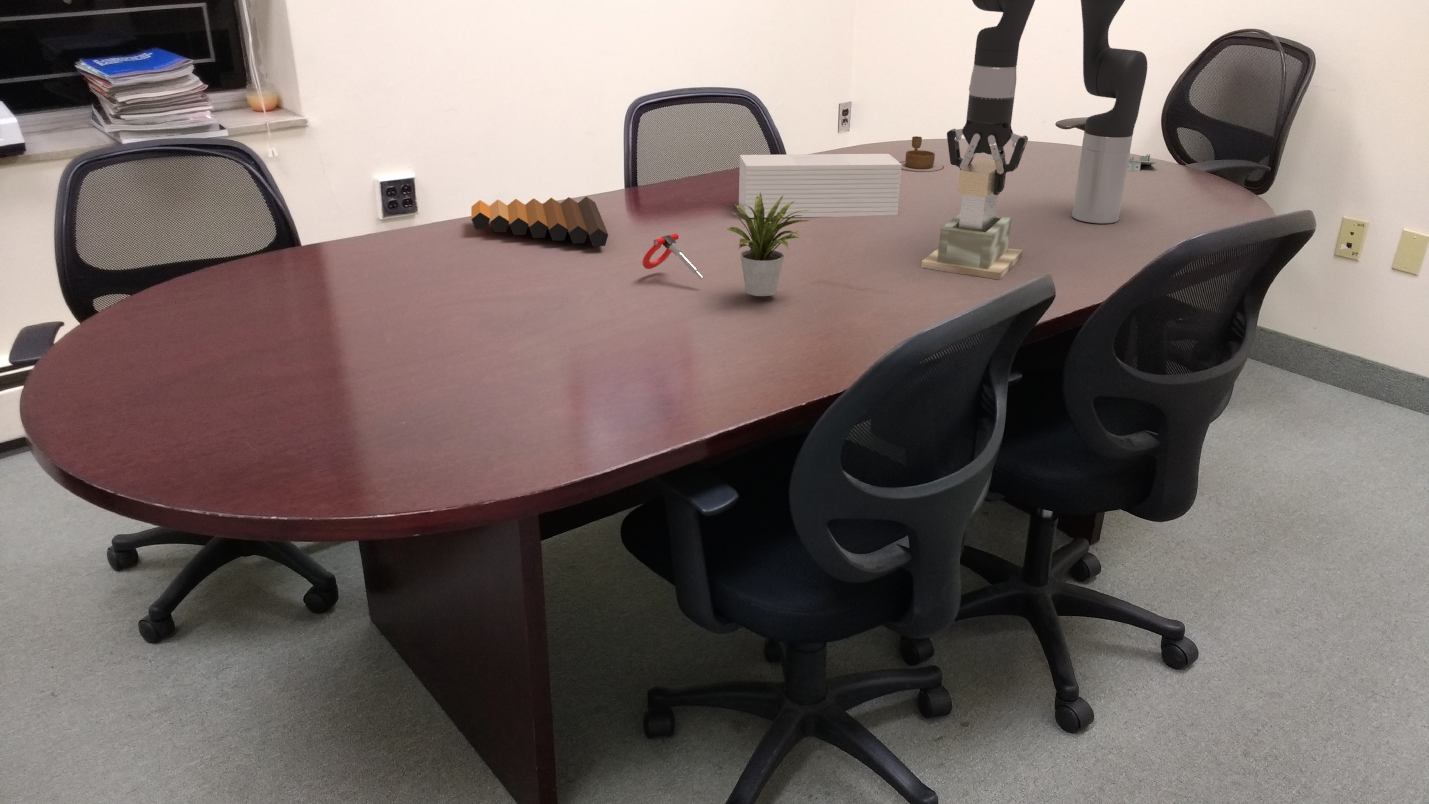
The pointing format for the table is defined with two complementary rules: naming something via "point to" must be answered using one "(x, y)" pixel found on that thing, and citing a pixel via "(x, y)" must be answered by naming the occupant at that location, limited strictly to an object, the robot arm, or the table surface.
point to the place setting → (919, 157)
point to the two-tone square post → (977, 195)
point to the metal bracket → (1139, 163)
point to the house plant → (763, 247)
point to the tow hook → (668, 253)
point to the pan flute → (544, 219)
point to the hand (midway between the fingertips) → (980, 191)
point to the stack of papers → (821, 184)
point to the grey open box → (974, 250)
